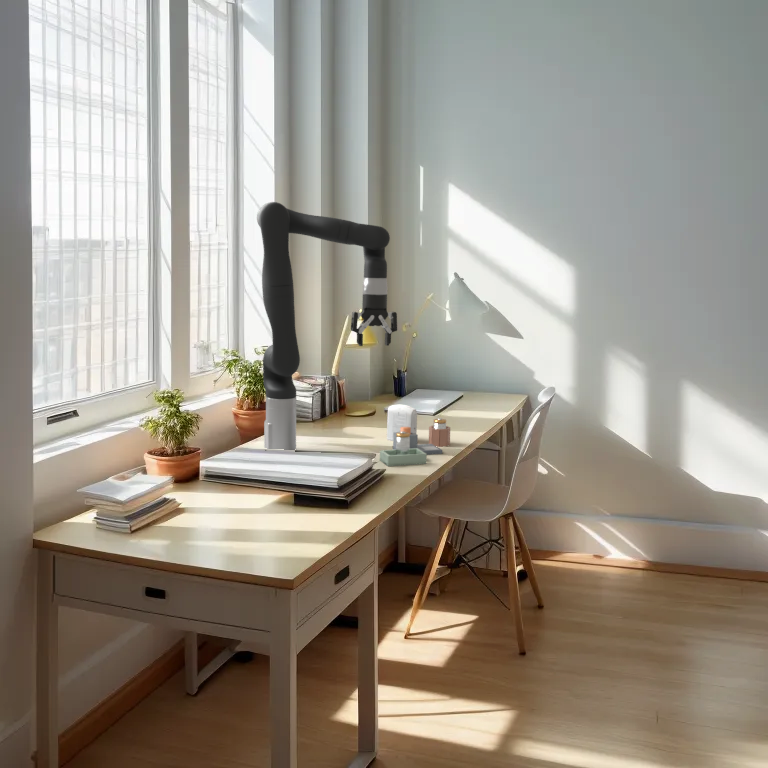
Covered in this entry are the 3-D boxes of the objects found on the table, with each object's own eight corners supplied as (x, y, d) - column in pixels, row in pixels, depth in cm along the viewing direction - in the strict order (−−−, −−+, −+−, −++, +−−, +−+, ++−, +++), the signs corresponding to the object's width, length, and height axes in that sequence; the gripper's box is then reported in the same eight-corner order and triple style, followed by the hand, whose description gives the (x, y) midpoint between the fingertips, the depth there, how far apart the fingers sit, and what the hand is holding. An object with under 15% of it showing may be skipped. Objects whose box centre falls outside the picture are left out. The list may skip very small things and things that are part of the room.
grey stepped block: (402, 457, 268) (403, 438, 268) (392, 450, 277) (393, 431, 276) (442, 454, 273) (442, 435, 272) (431, 448, 281) (431, 429, 280)
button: (402, 444, 273) (402, 429, 272) (398, 442, 276) (399, 426, 275) (411, 444, 274) (412, 428, 273) (408, 442, 277) (408, 426, 276)
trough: (388, 466, 257) (388, 456, 257) (379, 460, 264) (379, 450, 264) (426, 463, 261) (426, 453, 261) (417, 457, 268) (417, 448, 268)
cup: (433, 448, 281) (434, 429, 280) (426, 443, 287) (426, 425, 286) (452, 447, 283) (452, 428, 282) (444, 442, 289) (445, 424, 288)
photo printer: (418, 443, 288) (419, 405, 286) (411, 445, 285) (412, 407, 283) (391, 438, 294) (392, 402, 292) (384, 441, 290) (385, 403, 289)
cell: (394, 458, 264) (394, 431, 263) (406, 457, 265) (407, 430, 264) (398, 462, 260) (398, 433, 259) (411, 461, 261) (411, 432, 260)
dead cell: (435, 446, 283) (436, 419, 281) (431, 443, 286) (431, 417, 285) (447, 445, 284) (448, 419, 283) (442, 442, 288) (443, 417, 286)
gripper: (392, 292, 276) (391, 344, 278) (349, 291, 271) (348, 344, 274) (401, 293, 269) (399, 346, 271) (356, 293, 264) (355, 347, 267)
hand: (373, 345), depth 272 cm, fingers open, 8 cm apart
